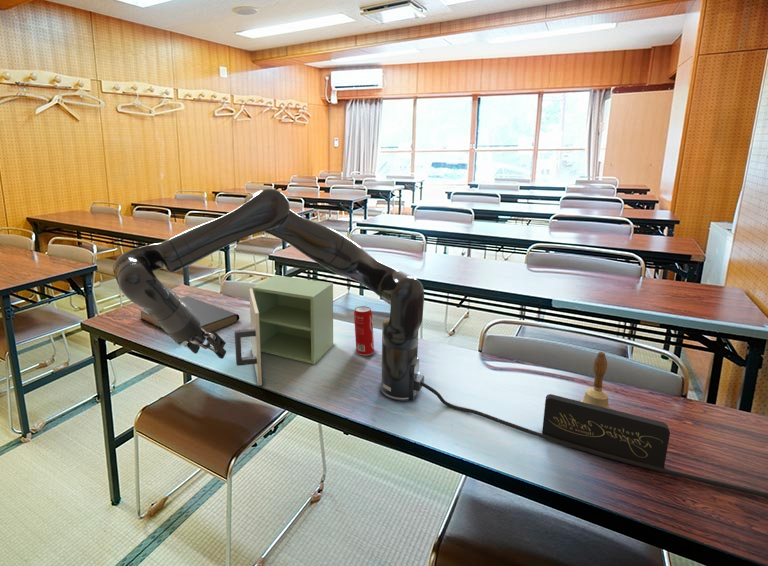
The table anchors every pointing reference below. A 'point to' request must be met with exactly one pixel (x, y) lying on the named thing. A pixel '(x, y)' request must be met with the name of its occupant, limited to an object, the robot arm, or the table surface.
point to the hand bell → (597, 384)
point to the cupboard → (295, 317)
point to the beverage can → (364, 330)
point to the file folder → (203, 315)
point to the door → (255, 338)
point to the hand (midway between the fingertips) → (210, 352)
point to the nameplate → (606, 430)
